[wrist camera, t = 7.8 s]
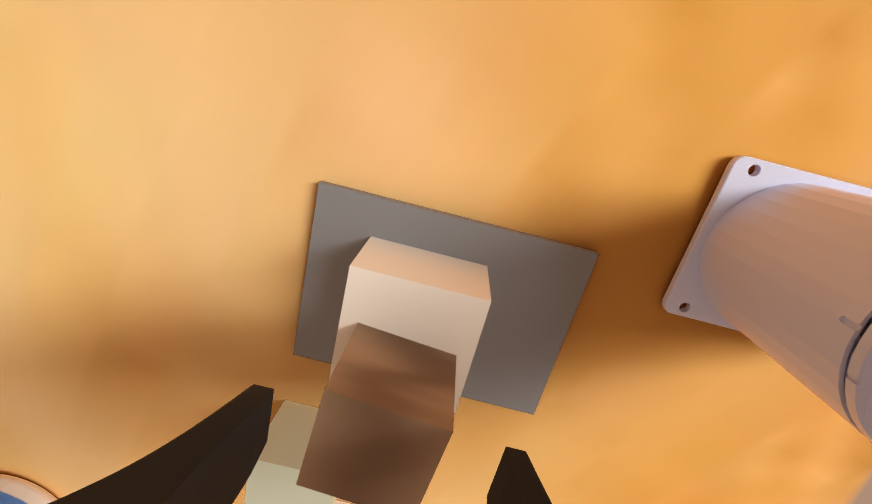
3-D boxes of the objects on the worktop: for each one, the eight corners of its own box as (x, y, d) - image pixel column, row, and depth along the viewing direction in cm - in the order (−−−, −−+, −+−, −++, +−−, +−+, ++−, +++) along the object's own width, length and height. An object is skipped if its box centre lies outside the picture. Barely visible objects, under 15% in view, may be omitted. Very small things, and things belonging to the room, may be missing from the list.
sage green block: (357, 416, 26) (335, 478, 21) (345, 470, 27) (323, 538, 23) (285, 398, 26) (249, 457, 21) (277, 454, 27) (242, 519, 23)
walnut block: (456, 355, 18) (453, 431, 14) (424, 432, 20) (412, 521, 16) (357, 322, 18) (324, 389, 14) (332, 402, 20) (296, 484, 15)
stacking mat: (595, 251, 21) (598, 254, 20) (532, 408, 24) (533, 414, 24) (322, 180, 21) (318, 182, 20) (296, 349, 24) (293, 354, 24)
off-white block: (487, 265, 21) (491, 301, 17) (456, 364, 23) (454, 414, 19) (370, 236, 21) (349, 265, 17) (350, 337, 23) (327, 383, 19)
